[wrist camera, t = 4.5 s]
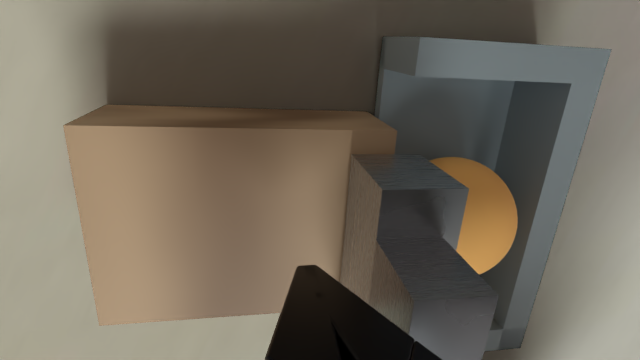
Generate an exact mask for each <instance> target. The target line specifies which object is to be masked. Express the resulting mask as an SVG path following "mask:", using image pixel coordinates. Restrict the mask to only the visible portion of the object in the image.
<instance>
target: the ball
mask: <svg viewBox="0 0 640 360" xmlns="http://www.w3.org/2000/svg"><path fill="white" fill-rule="evenodd" d="M430 162H431V163H433V164H434V165H436V166H437V167H439V168H440V169H441V170H443V171H444V172H446V173H447V174H449V175H450V176H452V177H453V178H454V179H456V180H457V181H459V182H460V183H462V184H463V185H465V186H466V187H467V188H469V192H468V196H467V201H466V206H465V211H464V216H463V221H462V225H461V230H460V235H459V240H458V245H457V249H456V251H457V253H458V254H459V255H460V256H461V257H462V258H463V259H464V260H465V261H466V262H467V263H468V264H469V265H470V266H471V267H472V268H473V269H474V270H475V271H476V272H477V273H478V274H482V273H484V272H486V271H488V270H489V269H491V268H492V267H494V266H495V265H496V264H498V263H499V262H500V261H501V260H502V259H503V258H504V256H505V255H506V254H507V253H508V251H509V249H510V248H511V246H512V244H513V241H514V238H515V235H516V231H517V224H518V216H517V208H516V204H515V201H514V198H513V196H512V194H511V192H510V190H509V188H508V187H507V185H506V184H505V183H504V181H503V180H502V179H501V178H500V177H499V176H498V175H497V174H496V173H495V172H494V171H492V170H491V169H489V168H488V167H486V166H485V165H483V164H481V163H478V162H476V161H473V160H470V159H466V158H461V157H442V158H436V159H433V160H430Z"/></svg>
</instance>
